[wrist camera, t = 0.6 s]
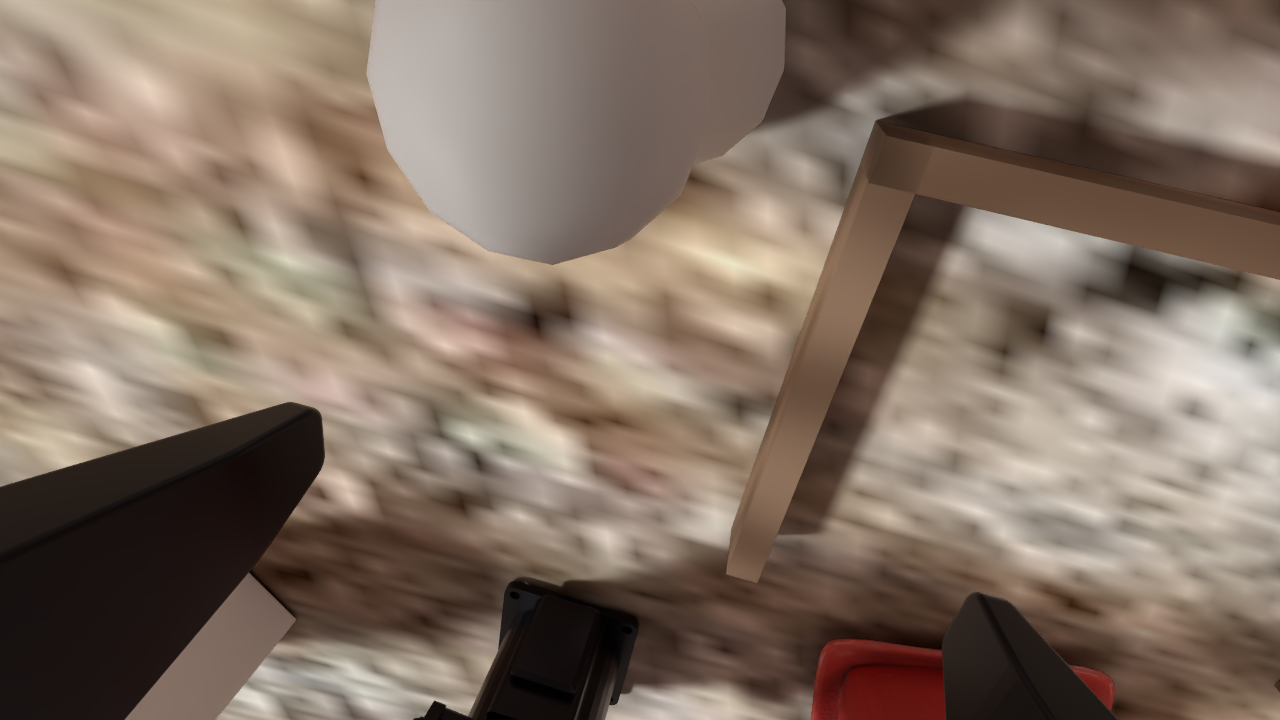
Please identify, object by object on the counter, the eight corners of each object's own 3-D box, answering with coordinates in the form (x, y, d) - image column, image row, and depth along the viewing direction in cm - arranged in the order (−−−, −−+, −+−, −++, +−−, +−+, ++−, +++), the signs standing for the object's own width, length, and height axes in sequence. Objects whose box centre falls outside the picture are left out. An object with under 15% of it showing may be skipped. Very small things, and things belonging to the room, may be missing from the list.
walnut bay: (1308, 694, 24) (1357, 760, 22) (731, 528, 26) (726, 574, 24) (1760, 321, 16) (1905, 369, 14) (875, 120, 18) (886, 135, 16)
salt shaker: (812, -61, 17) (844, -192, 5) (762, 164, 20) (719, 378, 8) (593, -89, 17) (227, -258, 6) (577, 132, 20) (307, 288, 9)
